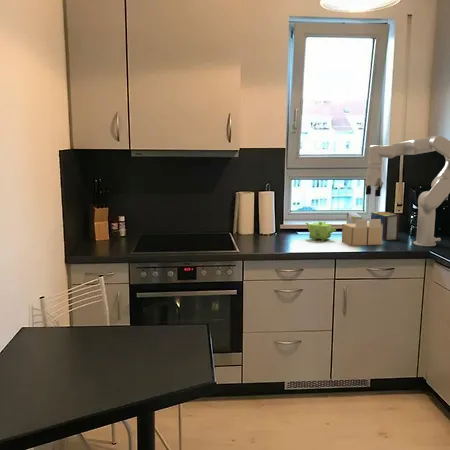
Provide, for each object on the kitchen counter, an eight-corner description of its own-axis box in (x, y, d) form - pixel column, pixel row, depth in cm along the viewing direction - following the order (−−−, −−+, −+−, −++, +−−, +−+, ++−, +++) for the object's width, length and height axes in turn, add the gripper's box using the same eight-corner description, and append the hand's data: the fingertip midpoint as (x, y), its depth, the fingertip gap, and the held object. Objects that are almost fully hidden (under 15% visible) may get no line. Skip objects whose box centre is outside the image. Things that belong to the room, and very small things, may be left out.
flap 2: (381, 244, 313) (382, 218, 310) (381, 244, 312) (383, 219, 310) (367, 244, 311) (368, 219, 308) (367, 244, 310) (369, 219, 308)
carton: (371, 240, 325) (372, 222, 323) (381, 244, 313) (382, 226, 312) (341, 241, 320) (342, 223, 319) (350, 245, 309) (351, 227, 307)
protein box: (383, 235, 343) (384, 211, 340) (398, 239, 329) (399, 214, 326) (369, 236, 340) (370, 212, 337) (383, 240, 325) (385, 215, 323)
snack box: (361, 241, 323) (362, 216, 321) (352, 241, 323) (353, 216, 321) (353, 234, 344) (355, 211, 342) (345, 234, 344) (346, 211, 342)
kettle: (303, 238, 332) (304, 220, 330) (323, 236, 336) (324, 219, 334) (315, 242, 318) (316, 224, 316) (336, 241, 322) (337, 223, 320)
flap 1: (352, 245, 308) (353, 220, 305) (352, 245, 309) (353, 219, 306) (366, 244, 310) (368, 219, 308) (366, 244, 311) (367, 219, 308)
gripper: (361, 165, 318) (359, 193, 321) (377, 167, 301) (375, 197, 304) (372, 165, 320) (370, 193, 323) (389, 167, 304) (386, 197, 307)
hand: (372, 195), depth 314 cm, fingers open, 9 cm apart
